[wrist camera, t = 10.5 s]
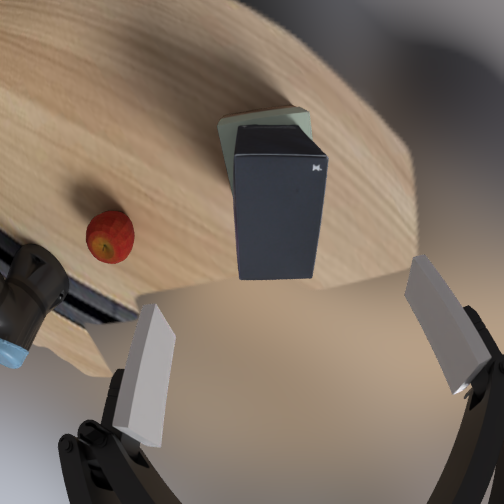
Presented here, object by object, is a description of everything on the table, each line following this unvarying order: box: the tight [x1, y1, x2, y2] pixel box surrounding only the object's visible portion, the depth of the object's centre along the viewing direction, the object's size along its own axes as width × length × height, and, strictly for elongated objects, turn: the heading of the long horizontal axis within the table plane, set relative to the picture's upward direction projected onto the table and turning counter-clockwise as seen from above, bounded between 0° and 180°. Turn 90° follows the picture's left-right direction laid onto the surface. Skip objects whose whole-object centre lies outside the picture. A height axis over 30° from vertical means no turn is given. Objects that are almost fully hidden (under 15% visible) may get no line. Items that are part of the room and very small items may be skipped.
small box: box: [233, 124, 329, 280], centre depth 23 cm, size 11×6×10 cm, turn 0°
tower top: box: [217, 107, 313, 195], centre depth 30 cm, size 9×12×5 cm
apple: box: [86, 211, 134, 264], centre depth 38 cm, size 8×8×8 cm
